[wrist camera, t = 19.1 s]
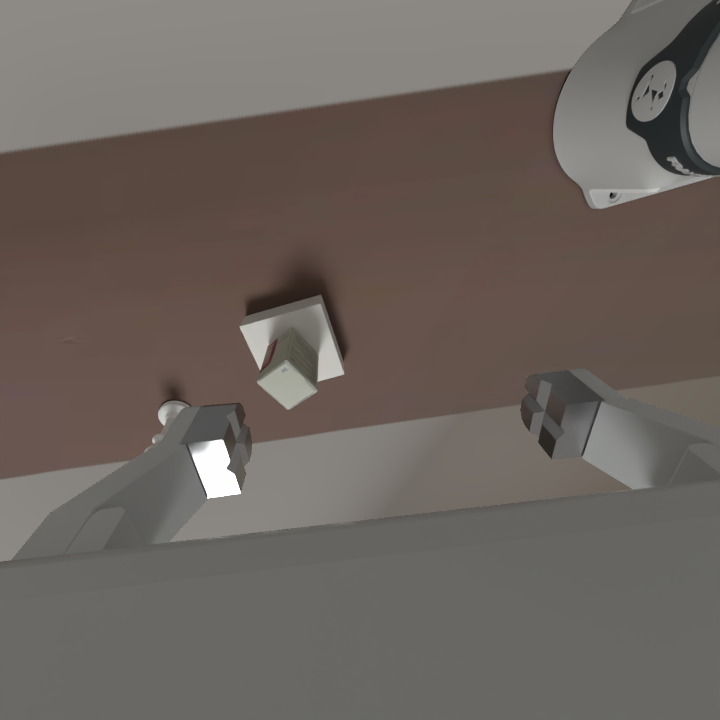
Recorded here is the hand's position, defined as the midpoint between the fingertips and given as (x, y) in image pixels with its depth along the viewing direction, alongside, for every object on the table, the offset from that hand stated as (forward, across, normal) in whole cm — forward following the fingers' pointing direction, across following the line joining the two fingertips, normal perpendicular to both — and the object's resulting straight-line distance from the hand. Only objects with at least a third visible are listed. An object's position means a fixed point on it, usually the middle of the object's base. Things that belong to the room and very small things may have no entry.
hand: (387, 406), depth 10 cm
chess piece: (+34, -26, -23) cm, 49 cm away
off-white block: (+35, -7, -13) cm, 38 cm away
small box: (+31, -7, -13) cm, 34 cm away
